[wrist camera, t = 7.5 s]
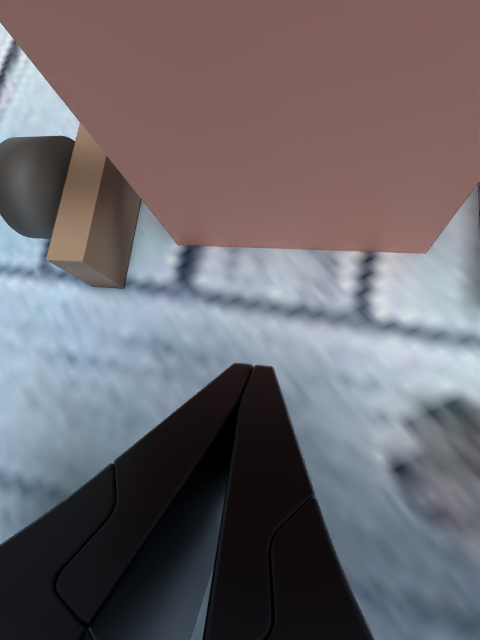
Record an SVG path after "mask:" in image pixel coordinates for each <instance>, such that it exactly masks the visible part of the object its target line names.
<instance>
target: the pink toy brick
mask: <svg viewBox="0 0 480 640" xmlns="http://www.w3.org/2000/svg"><path fill="white" fill-rule="evenodd" d="M0 23H1V24H2V25H3V26H4V28H5V29H6V30H7V31H8V33H9V34H10V35H11V36H12V38H13V39H14V40H15V41H16V43H17V44H18V45H19V46H20V48H21V49H22V50H23V51H24V53H25V54H26V55H27V56H28V58H29V59H30V60H31V61H32V63H33V64H34V65H35V66H36V68H37V69H38V70H39V71H40V73H41V74H42V75H43V76H44V78H45V79H46V80H47V81H48V83H49V84H50V85H51V86H52V88H53V89H54V90H55V91H56V93H57V94H58V95H59V96H60V98H61V99H62V100H63V101H64V103H65V104H66V105H67V107H68V108H69V109H70V110H71V112H72V113H73V114H74V115H75V117H76V118H77V119H78V120H79V122H80V123H81V124H82V125H83V127H84V128H85V129H86V130H87V132H88V133H89V134H90V135H91V137H92V138H93V139H94V140H95V142H96V143H97V144H98V145H99V147H100V148H101V149H102V150H103V152H104V153H105V154H106V155H107V157H108V158H109V159H110V160H111V162H112V163H113V164H114V165H115V167H116V168H117V169H118V170H119V172H120V173H121V174H122V175H123V177H124V178H125V179H126V180H127V182H128V183H129V184H130V185H131V187H132V188H133V189H134V190H135V192H136V193H137V194H138V195H139V197H140V198H141V199H142V200H143V202H144V203H145V204H146V205H147V207H148V208H149V209H150V210H151V212H152V213H153V214H154V215H155V217H156V218H157V219H158V220H159V222H160V223H161V224H162V225H163V227H164V228H165V229H166V231H167V232H168V233H169V234H170V236H171V237H172V238H173V239H174V241H175V242H176V243H177V244H178V245H192V246H221V247H251V248H280V249H309V250H339V251H368V252H398V253H427V251H428V250H429V248H430V247H431V246H432V244H433V243H434V242H435V240H436V239H437V238H438V236H439V235H440V234H441V232H442V231H443V230H444V228H445V227H446V226H447V224H448V223H449V222H450V220H451V219H452V218H453V216H454V215H455V214H456V212H457V211H458V210H459V208H460V207H461V206H462V204H463V203H464V202H465V200H466V199H467V198H468V196H469V195H470V194H471V192H472V191H473V190H474V188H475V187H476V186H477V184H478V183H479V182H480V0H0Z"/></svg>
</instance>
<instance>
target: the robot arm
mask: <svg viewBox="0 0 480 640" xmlns="http://www.w3.org/2000/svg"><path fill="white" fill-rule="evenodd" d="M214 561H215V563H214ZM213 564H214V569H213V576H212V582H211V589H210V595H209V602H208V608H207V615H206V621H205V628H204V634H203V640H375V639H374V637H373V635H372V633H371V631H370V628H369V626H368V624H367V622H366V620H365V618H364V616H363V613H362V611H361V609H360V607H359V605H358V603H357V601H356V598H355V596H354V594H353V592H352V589H351V587H350V585H349V583H348V580H347V578H346V576H345V573H344V571H343V569H342V566H341V564H340V562H339V559H338V557H337V555H336V552H335V549H334V547H333V544H332V541H331V538H330V536H329V533H328V530H327V527H326V525H325V522H324V519H323V516H322V513H321V510H320V507H319V504H318V501H317V499H316V498H315V493H314V490H313V486H312V483H311V480H310V477H309V474H308V471H307V468H306V465H305V462H304V459H303V456H302V453H301V450H300V447H299V444H298V441H297V438H296V434H295V431H294V428H293V425H292V422H291V419H290V416H289V413H288V410H287V407H286V404H285V401H284V398H283V395H282V392H281V389H280V386H279V382H278V379H277V376H276V373H275V370H274V368H273V367H272V366H263V365H255V366H254V367H253V365H251V364H243V363H234V364H233V365H231V366H230V367H229V368H228V369H226V370H225V371H224V372H223V373H222V374H220V375H219V376H218V377H217V378H215V379H214V380H213V381H212V382H210V383H209V384H208V385H207V386H206V387H204V388H203V389H202V390H201V391H199V392H198V393H197V394H196V395H194V396H193V397H192V398H191V399H189V400H188V401H187V402H186V403H185V404H183V405H182V406H181V407H180V408H178V409H177V410H176V411H175V412H173V413H172V414H171V415H170V416H169V417H167V418H166V419H165V420H164V421H162V422H161V423H160V424H159V425H157V426H156V427H155V428H154V429H152V430H151V431H150V432H149V433H148V434H146V435H145V436H144V437H143V438H141V439H140V440H139V441H138V442H136V443H135V444H134V445H133V446H132V447H130V448H129V449H128V450H127V451H125V452H124V453H123V454H122V455H120V456H119V457H118V458H117V459H116V460H115V461H114V464H112V463H111V464H109V465H108V466H107V467H105V468H104V469H103V470H102V471H100V472H99V473H98V474H97V475H96V476H94V477H93V478H92V479H90V480H89V481H88V482H87V483H85V484H84V485H83V486H81V487H80V488H79V489H78V490H76V491H75V492H74V493H72V494H71V495H70V496H69V497H67V498H66V499H65V500H63V501H62V502H60V503H59V504H58V505H56V506H55V507H53V508H52V509H51V510H49V511H48V512H46V513H45V514H44V515H42V516H41V517H39V518H38V519H37V520H35V521H34V522H32V523H31V524H30V525H28V526H27V527H25V528H24V529H22V530H21V531H19V532H18V533H16V534H15V535H14V536H12V537H11V538H9V539H8V540H6V541H5V542H3V543H2V544H0V640H190V639H191V636H192V633H193V629H194V626H195V623H196V620H197V616H198V613H199V610H200V607H201V603H202V600H203V597H204V594H205V590H206V587H207V584H208V581H209V577H210V574H211V571H212V567H213Z"/></svg>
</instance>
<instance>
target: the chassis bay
mask: <svg viewBox="0 0 480 640" xmlns="http://www.w3.org/2000/svg"><path fill="white" fill-rule="evenodd" d="M140 203H141V198H140V197H139V195H138V194H137V193H136V192H135V190H134V189H133V188H132V187H131V185H130V184H129V183H128V182H127V180H126V179H125V178H124V177H123V175H122V174H121V173H120V172H119V170H118V169H117V168H116V167H115V165H114V164H113V163H112V162H111V160H110V159H109V158H108V157H107V155H106V154H105V153H104V152H103V150H102V149H101V148H100V147H99V145H98V144H97V143H96V142H95V140H94V139H93V138H92V137H91V135H90V134H89V133H88V132H87V130H86V129H85V128H84V127H83V125H82V124H81V123H80V125H79V129H78V133H77V137H76V141H74V140H72V139H70V138H68V137H65V136H43V137H15V138H9V139H7V140H5V141H3V142H2V143H1V144H0V214H1V216H2V217H3V219H4V220H5V221H6V223H7V224H8V225H9V226H10V227H11V228H12V229H14V230H15V231H16V232H18V233H19V234H21V235H23V236H26V237H29V238H45V239H51V242H50V246H49V250H48V254H47V258H46V260H47V261H49V262H51V263H52V264H54V265H56V266H58V267H59V268H61V269H63V270H65V271H66V272H68V273H70V274H72V275H74V276H75V277H77V278H79V279H81V280H82V281H84V282H86V283H88V284H89V285H91V286H93V287H110V288H124V285H125V280H126V274H127V269H128V264H129V259H130V254H131V249H132V244H133V239H134V233H135V228H136V223H137V218H138V213H139V208H140ZM479 209H480V182H479Z"/></svg>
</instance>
